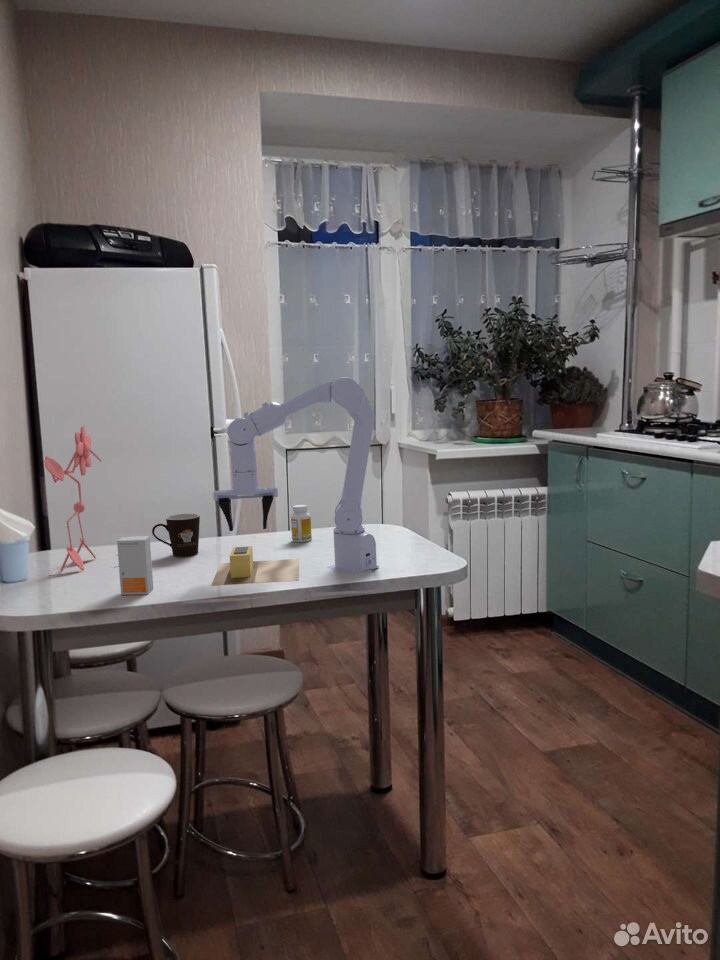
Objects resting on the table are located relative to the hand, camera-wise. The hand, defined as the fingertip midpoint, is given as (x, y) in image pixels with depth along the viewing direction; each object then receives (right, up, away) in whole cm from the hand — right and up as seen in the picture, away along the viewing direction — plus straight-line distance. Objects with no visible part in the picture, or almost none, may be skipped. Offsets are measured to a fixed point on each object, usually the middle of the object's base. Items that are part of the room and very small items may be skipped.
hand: (248, 529), depth 174 cm
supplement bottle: (+10, -6, +34) cm, 36 cm away
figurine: (-41, -10, +15) cm, 45 cm away
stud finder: (-1, -10, 0) cm, 10 cm away
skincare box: (-22, -13, -11) cm, 28 cm away
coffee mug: (-21, -8, +23) cm, 32 cm away
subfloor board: (+2, -10, 0) cm, 11 cm away
